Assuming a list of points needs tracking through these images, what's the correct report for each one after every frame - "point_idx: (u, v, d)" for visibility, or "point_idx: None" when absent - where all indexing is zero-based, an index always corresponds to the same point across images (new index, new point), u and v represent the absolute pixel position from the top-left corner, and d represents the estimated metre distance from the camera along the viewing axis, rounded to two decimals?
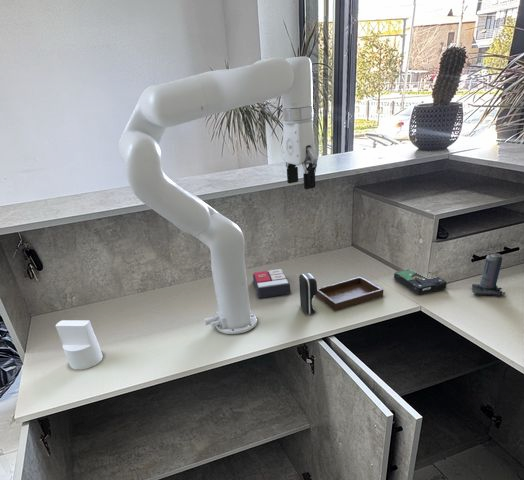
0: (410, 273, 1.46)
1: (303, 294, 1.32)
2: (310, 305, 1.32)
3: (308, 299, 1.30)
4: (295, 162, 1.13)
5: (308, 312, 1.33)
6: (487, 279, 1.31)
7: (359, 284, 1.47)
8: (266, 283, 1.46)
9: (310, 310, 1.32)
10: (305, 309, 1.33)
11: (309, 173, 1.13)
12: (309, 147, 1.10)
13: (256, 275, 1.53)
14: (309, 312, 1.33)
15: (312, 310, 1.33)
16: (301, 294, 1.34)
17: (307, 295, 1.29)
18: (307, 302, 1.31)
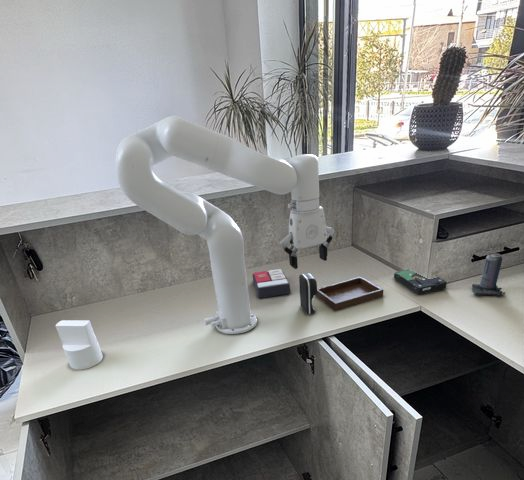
0: (410, 273, 1.46)
1: (303, 294, 1.32)
2: (310, 305, 1.32)
3: (308, 299, 1.30)
4: (321, 241, 1.23)
5: (308, 312, 1.33)
6: (487, 279, 1.31)
7: (359, 284, 1.47)
8: (266, 283, 1.46)
9: (310, 310, 1.32)
10: (305, 309, 1.33)
11: None
12: None
13: (256, 275, 1.53)
14: (309, 312, 1.33)
15: (312, 310, 1.33)
16: (301, 294, 1.34)
17: (307, 295, 1.29)
18: (307, 302, 1.31)
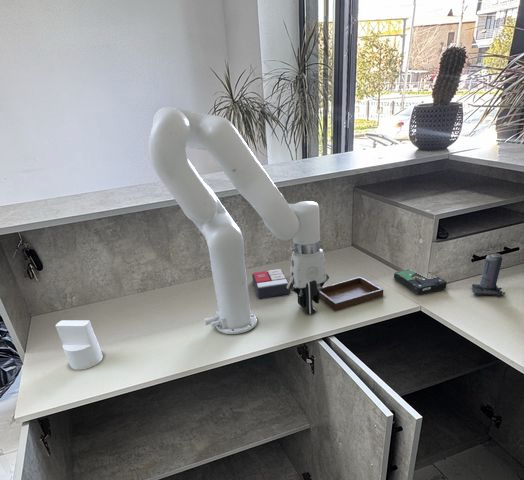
0: (410, 273, 1.46)
1: (303, 294, 1.32)
2: (310, 305, 1.32)
3: (309, 299, 1.30)
4: (320, 281, 1.29)
5: (308, 312, 1.33)
6: (487, 279, 1.31)
7: (359, 284, 1.47)
8: (266, 283, 1.46)
9: (310, 310, 1.32)
10: (305, 309, 1.33)
11: None
12: None
13: (255, 275, 1.53)
14: (309, 312, 1.33)
15: (312, 310, 1.33)
16: None
17: (307, 295, 1.29)
18: (307, 302, 1.31)
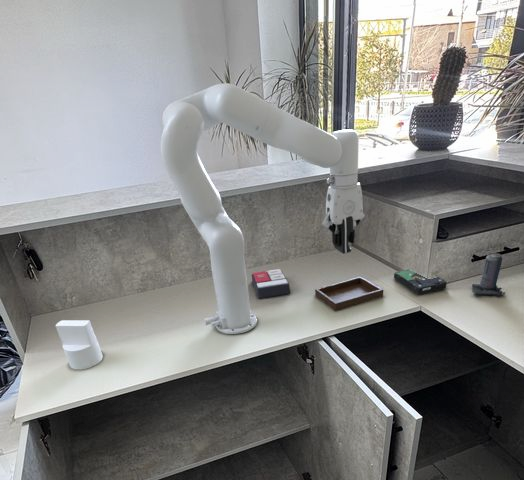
0: (410, 273, 1.46)
1: None
2: (346, 243, 1.27)
3: (345, 236, 1.26)
4: (357, 217, 1.25)
5: (344, 251, 1.28)
6: (487, 279, 1.31)
7: (359, 284, 1.47)
8: (265, 283, 1.46)
9: (346, 249, 1.28)
10: (341, 248, 1.29)
11: None
12: None
13: (255, 275, 1.53)
14: (345, 251, 1.28)
15: (348, 249, 1.28)
16: None
17: (343, 232, 1.25)
18: (343, 239, 1.26)
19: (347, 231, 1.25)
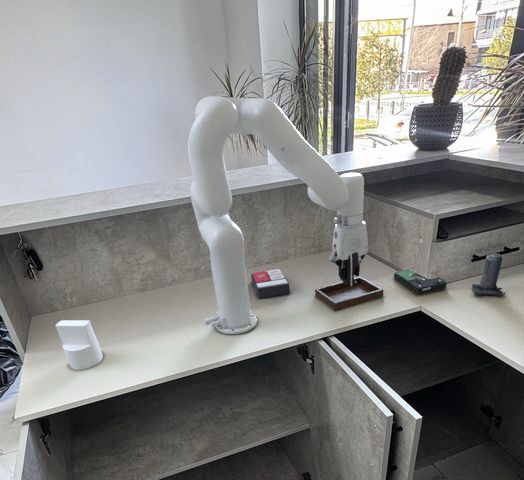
0: (410, 273, 1.46)
1: None
2: (352, 277, 1.34)
3: (350, 271, 1.33)
4: (362, 253, 1.32)
5: (350, 284, 1.35)
6: (487, 279, 1.31)
7: (359, 284, 1.47)
8: (265, 283, 1.46)
9: (352, 282, 1.35)
10: (346, 281, 1.36)
11: None
12: None
13: (255, 275, 1.53)
14: (351, 284, 1.35)
15: (354, 282, 1.35)
16: None
17: (349, 267, 1.32)
18: (349, 274, 1.33)
19: (353, 266, 1.32)
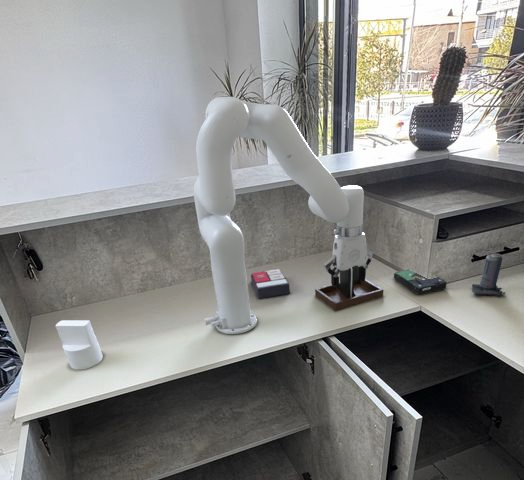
0: (410, 273, 1.46)
1: (344, 279, 1.37)
2: (352, 289, 1.37)
3: (350, 283, 1.35)
4: (361, 264, 1.34)
5: (349, 296, 1.38)
6: (487, 279, 1.31)
7: (359, 284, 1.47)
8: (265, 283, 1.46)
9: (351, 294, 1.37)
10: (346, 294, 1.38)
11: None
12: None
13: (254, 275, 1.53)
14: (350, 296, 1.38)
15: (353, 294, 1.38)
16: (342, 279, 1.39)
17: (349, 280, 1.34)
18: (349, 286, 1.36)
19: (353, 279, 1.34)
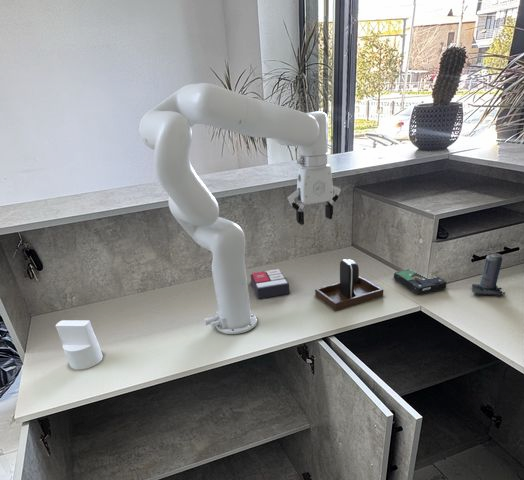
0: (410, 273, 1.46)
1: (344, 279, 1.37)
2: (352, 289, 1.37)
3: (350, 283, 1.35)
4: (327, 198, 1.29)
5: (349, 296, 1.38)
6: (487, 279, 1.31)
7: (359, 284, 1.47)
8: (265, 283, 1.46)
9: (351, 294, 1.37)
10: (346, 294, 1.38)
11: None
12: None
13: (254, 276, 1.53)
14: (350, 296, 1.38)
15: (353, 294, 1.38)
16: (342, 279, 1.39)
17: (349, 280, 1.34)
18: (349, 286, 1.36)
19: (353, 279, 1.34)
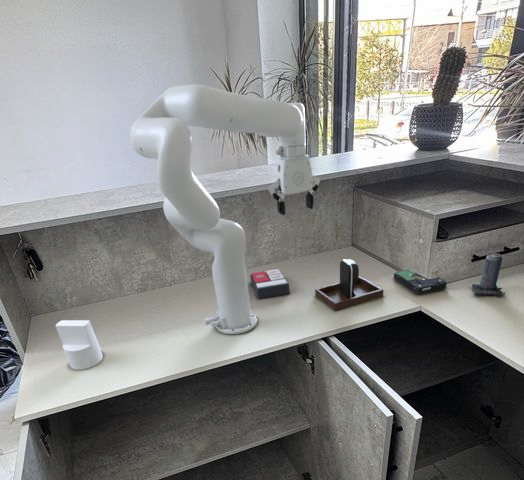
0: (410, 273, 1.46)
1: (344, 279, 1.37)
2: (352, 289, 1.37)
3: (350, 283, 1.35)
4: (307, 188, 1.31)
5: (349, 296, 1.38)
6: (487, 279, 1.31)
7: (359, 284, 1.47)
8: (265, 283, 1.46)
9: (351, 294, 1.37)
10: (346, 294, 1.38)
11: None
12: None
13: (254, 276, 1.53)
14: (350, 296, 1.38)
15: (353, 294, 1.38)
16: (342, 279, 1.39)
17: (349, 280, 1.34)
18: (349, 286, 1.36)
19: (353, 279, 1.34)
